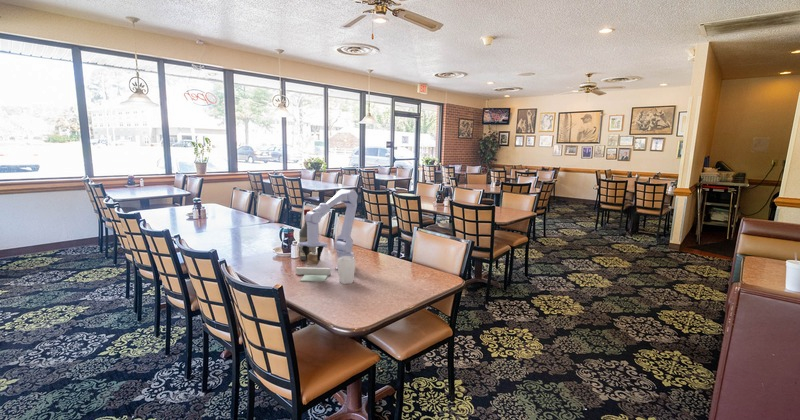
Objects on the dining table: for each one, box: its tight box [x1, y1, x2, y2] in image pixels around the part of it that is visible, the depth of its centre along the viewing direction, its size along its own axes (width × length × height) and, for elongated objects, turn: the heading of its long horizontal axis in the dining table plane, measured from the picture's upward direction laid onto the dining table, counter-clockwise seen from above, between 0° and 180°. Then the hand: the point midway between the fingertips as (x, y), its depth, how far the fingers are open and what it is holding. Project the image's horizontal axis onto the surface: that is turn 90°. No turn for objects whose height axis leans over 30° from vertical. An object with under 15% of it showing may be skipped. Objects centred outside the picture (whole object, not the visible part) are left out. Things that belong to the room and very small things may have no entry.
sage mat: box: [299, 275, 329, 283], centre depth 193 cm, size 12×9×1 cm
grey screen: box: [295, 266, 331, 276], centre depth 199 cm, size 18×1×4 cm, turn 90°
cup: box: [336, 256, 356, 285], centre depth 189 cm, size 9×9×12 cm
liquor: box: [298, 208, 317, 262], centre depth 226 cm, size 9×9×30 cm
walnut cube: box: [306, 252, 320, 266], centre depth 196 cm, size 5×5×5 cm
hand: (313, 260), depth 196 cm, fingers closed on walnut cube, 5 cm apart
